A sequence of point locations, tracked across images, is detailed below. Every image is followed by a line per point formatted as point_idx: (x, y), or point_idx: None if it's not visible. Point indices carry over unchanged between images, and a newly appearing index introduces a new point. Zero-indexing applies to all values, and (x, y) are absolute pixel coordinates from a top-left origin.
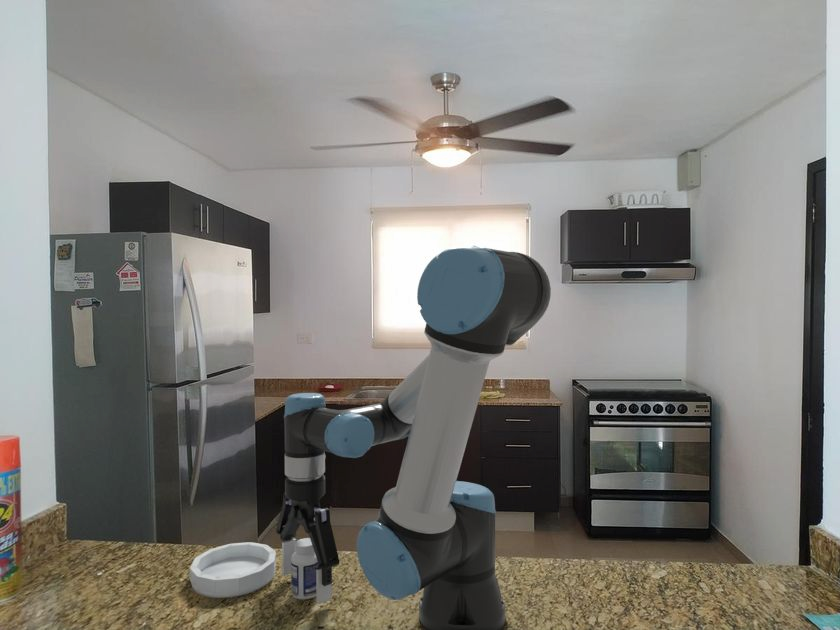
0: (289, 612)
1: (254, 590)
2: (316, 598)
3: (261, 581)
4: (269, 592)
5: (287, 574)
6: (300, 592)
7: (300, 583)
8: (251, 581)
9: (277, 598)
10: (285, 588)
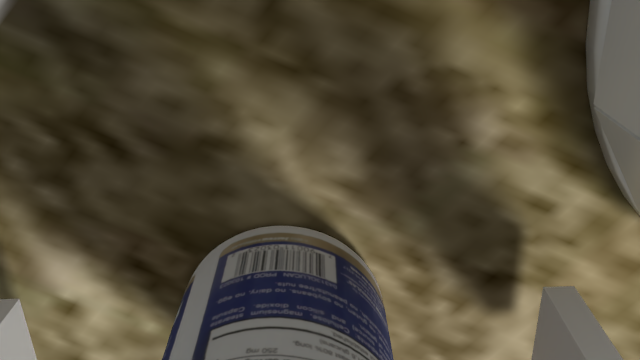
0: (104, 120)
1: (588, 35)
2: (6, 317)
3: (602, 115)
4: (474, 121)
5: (540, 312)
6: (205, 274)
7: (192, 320)
8: (633, 23)
9: (348, 132)
10: (440, 231)
